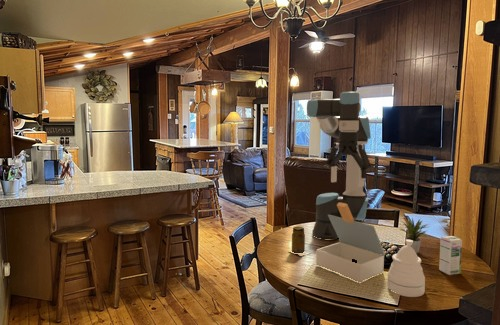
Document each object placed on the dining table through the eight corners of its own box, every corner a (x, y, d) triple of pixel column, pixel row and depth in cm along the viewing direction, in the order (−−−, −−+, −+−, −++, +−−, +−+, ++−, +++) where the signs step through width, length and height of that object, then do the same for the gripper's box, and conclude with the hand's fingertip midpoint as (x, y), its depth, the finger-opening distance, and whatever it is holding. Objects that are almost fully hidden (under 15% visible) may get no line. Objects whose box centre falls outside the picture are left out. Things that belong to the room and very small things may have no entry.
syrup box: (449, 275, 150) (451, 240, 148) (438, 269, 155) (440, 236, 154) (460, 273, 151) (463, 239, 149) (449, 268, 157) (451, 235, 155)
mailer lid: (319, 201, 157) (321, 198, 158) (339, 243, 168) (341, 240, 169) (364, 211, 139) (367, 208, 140) (383, 257, 150) (385, 254, 151)
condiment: (298, 249, 181) (298, 225, 179) (311, 253, 174) (311, 229, 173) (287, 252, 176) (287, 227, 175) (300, 257, 170) (301, 231, 168)
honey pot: (393, 278, 147) (395, 234, 145) (428, 287, 139) (431, 241, 137) (382, 289, 137) (383, 242, 135) (418, 300, 129) (421, 250, 127)
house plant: (425, 260, 166) (427, 224, 164) (393, 253, 174) (395, 219, 172) (432, 251, 177) (434, 217, 175) (402, 245, 186) (403, 213, 184)
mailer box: (316, 266, 159) (316, 249, 158) (340, 257, 169) (340, 241, 168) (359, 283, 142) (360, 265, 141) (383, 273, 152) (384, 255, 151)
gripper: (318, 130, 155) (317, 181, 157) (370, 132, 135) (368, 189, 138) (330, 130, 159) (329, 179, 162) (382, 131, 140) (379, 187, 142)
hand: (347, 184), depth 150 cm, fingers open, 13 cm apart
